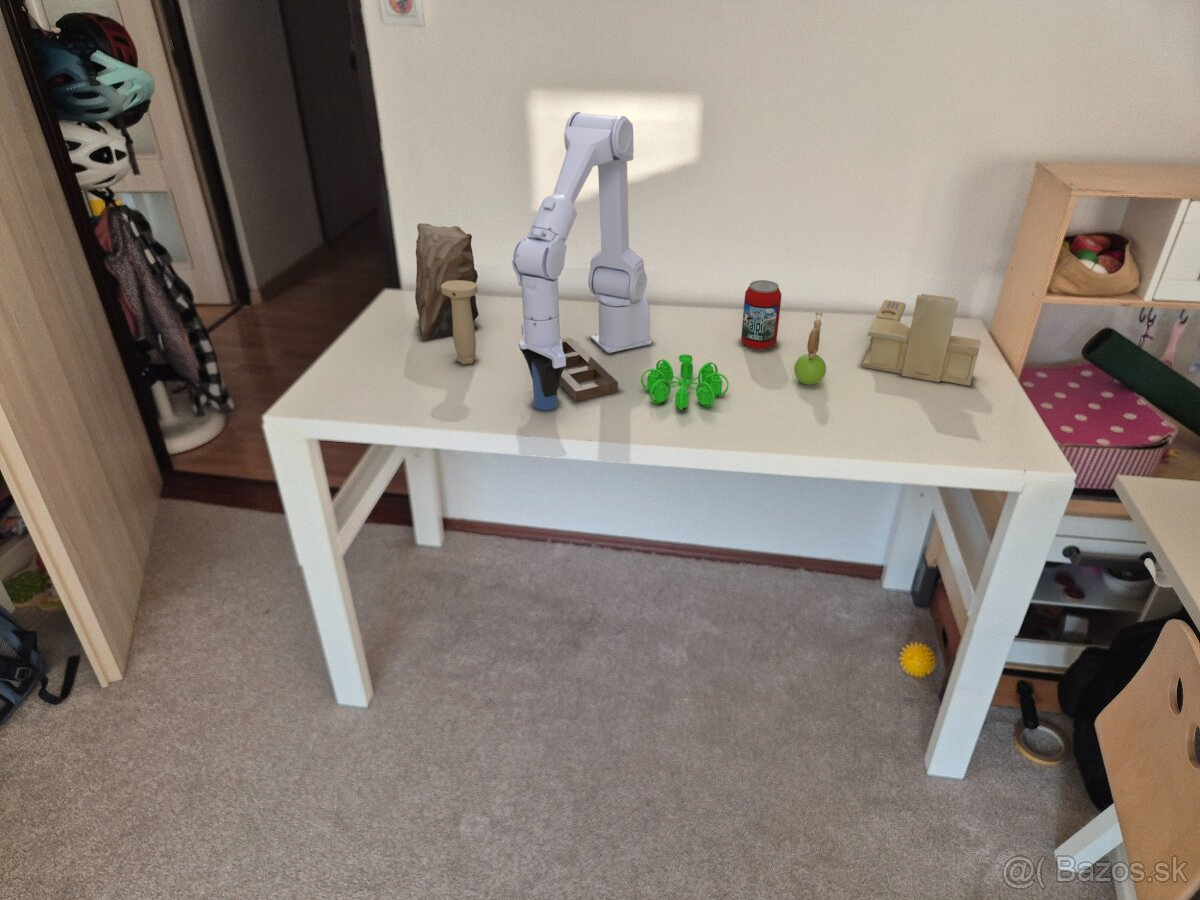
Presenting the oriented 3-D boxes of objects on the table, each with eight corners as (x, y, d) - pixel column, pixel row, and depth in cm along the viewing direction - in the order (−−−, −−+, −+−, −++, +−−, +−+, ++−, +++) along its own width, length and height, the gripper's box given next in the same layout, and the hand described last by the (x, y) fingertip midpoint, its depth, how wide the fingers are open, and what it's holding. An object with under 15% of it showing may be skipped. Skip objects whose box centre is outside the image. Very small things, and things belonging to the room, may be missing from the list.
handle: (477, 369, 154) (470, 291, 146) (445, 365, 156) (436, 288, 148) (487, 358, 158) (481, 282, 150) (456, 354, 159) (448, 279, 151)
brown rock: (417, 316, 175) (405, 222, 164) (478, 311, 177) (469, 217, 166) (420, 341, 164) (406, 242, 154) (484, 335, 167) (475, 236, 156)
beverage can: (736, 348, 160) (741, 289, 154) (745, 334, 166) (750, 277, 159) (771, 354, 158) (778, 294, 152) (779, 340, 163) (785, 281, 157)
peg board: (570, 346, 162) (570, 337, 161) (618, 392, 146) (618, 381, 145) (531, 354, 159) (531, 344, 158) (576, 401, 143) (575, 391, 142)
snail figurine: (826, 376, 150) (835, 313, 144) (822, 392, 145) (831, 328, 139) (795, 371, 152) (803, 309, 145) (790, 387, 147) (798, 324, 140)
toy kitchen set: (977, 350, 158) (996, 274, 150) (969, 388, 146) (990, 307, 138) (877, 334, 165) (890, 260, 157) (861, 368, 152) (874, 290, 144)
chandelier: (645, 371, 152) (646, 336, 149) (728, 376, 150) (731, 341, 147) (635, 411, 140) (636, 374, 136) (725, 417, 138) (729, 380, 134)
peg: (552, 397, 144) (550, 355, 140) (561, 407, 141) (559, 364, 137) (530, 402, 143) (527, 360, 139) (539, 412, 140) (536, 369, 136)
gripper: (502, 302, 138) (507, 376, 145) (534, 335, 126) (538, 413, 134) (542, 295, 140) (545, 368, 147) (577, 326, 129) (579, 404, 136)
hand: (545, 389), depth 141 cm, fingers closed on peg, 4 cm apart
